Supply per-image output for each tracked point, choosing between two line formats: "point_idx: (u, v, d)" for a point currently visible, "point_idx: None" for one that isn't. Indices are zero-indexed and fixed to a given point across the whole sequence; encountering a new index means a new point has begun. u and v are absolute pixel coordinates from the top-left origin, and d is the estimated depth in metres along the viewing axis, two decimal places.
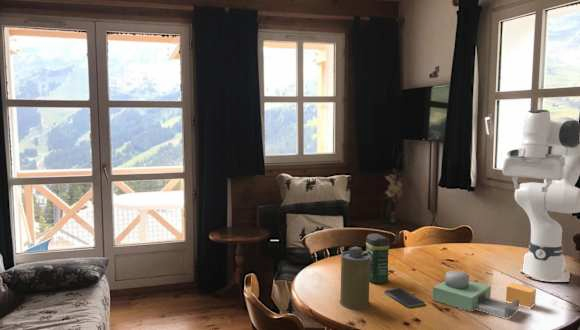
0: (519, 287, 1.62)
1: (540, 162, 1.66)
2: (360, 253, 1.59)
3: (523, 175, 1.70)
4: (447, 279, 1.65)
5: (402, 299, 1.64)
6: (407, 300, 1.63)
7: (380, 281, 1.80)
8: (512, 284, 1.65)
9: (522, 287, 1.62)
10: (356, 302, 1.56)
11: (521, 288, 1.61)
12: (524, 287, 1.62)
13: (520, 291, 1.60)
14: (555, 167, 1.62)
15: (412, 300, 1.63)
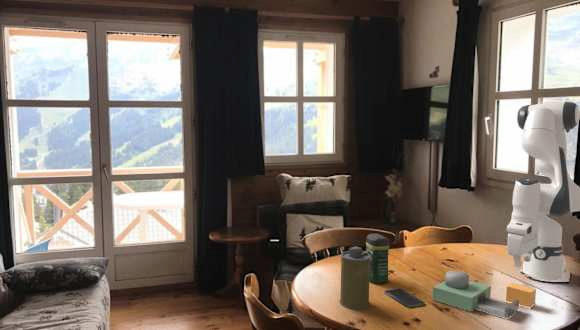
0: (519, 287, 1.62)
1: None
2: (360, 253, 1.59)
3: (526, 251, 1.57)
4: (447, 279, 1.65)
5: (402, 299, 1.64)
6: (407, 300, 1.63)
7: (380, 281, 1.80)
8: (512, 284, 1.65)
9: (522, 287, 1.62)
10: (356, 302, 1.56)
11: (521, 288, 1.61)
12: (524, 287, 1.62)
13: (520, 291, 1.60)
14: (537, 235, 1.64)
15: (412, 300, 1.63)
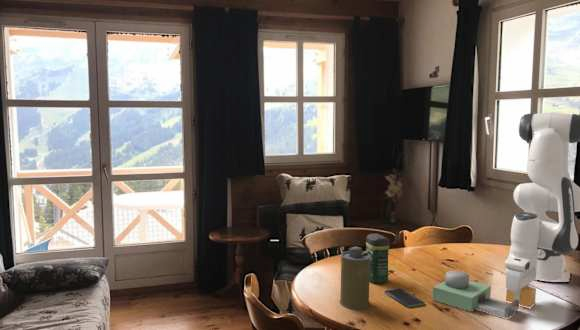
0: None
1: None
2: (360, 253, 1.59)
3: (524, 285, 1.59)
4: (447, 279, 1.65)
5: (402, 299, 1.64)
6: (407, 300, 1.63)
7: (380, 281, 1.80)
8: None
9: None
10: (356, 302, 1.56)
11: None
12: (524, 287, 1.62)
13: None
14: (535, 267, 1.66)
15: (412, 300, 1.63)
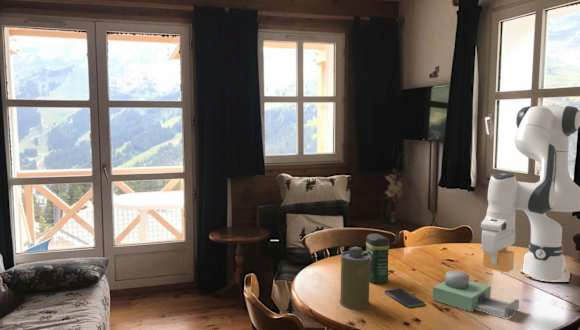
0: None
1: None
2: (360, 253, 1.59)
3: (501, 248, 1.52)
4: (447, 279, 1.65)
5: (402, 299, 1.64)
6: (407, 300, 1.63)
7: (380, 281, 1.80)
8: None
9: None
10: (356, 302, 1.56)
11: (498, 251, 1.54)
12: (502, 250, 1.55)
13: (497, 254, 1.52)
14: (514, 231, 1.59)
15: (412, 300, 1.63)
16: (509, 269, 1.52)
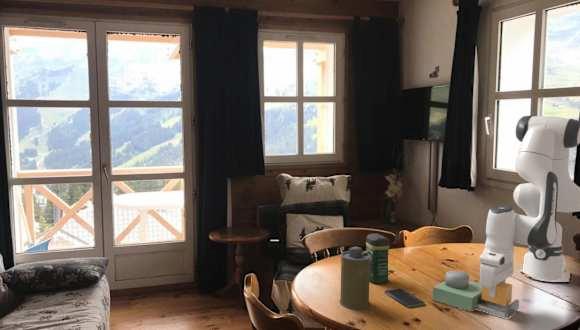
0: None
1: None
2: (360, 253, 1.59)
3: (500, 281, 1.53)
4: (447, 279, 1.65)
5: (402, 299, 1.64)
6: (407, 300, 1.63)
7: (380, 281, 1.80)
8: None
9: None
10: (356, 302, 1.56)
11: None
12: (500, 283, 1.56)
13: (496, 287, 1.54)
14: (512, 263, 1.60)
15: (412, 300, 1.63)
16: (507, 302, 1.53)
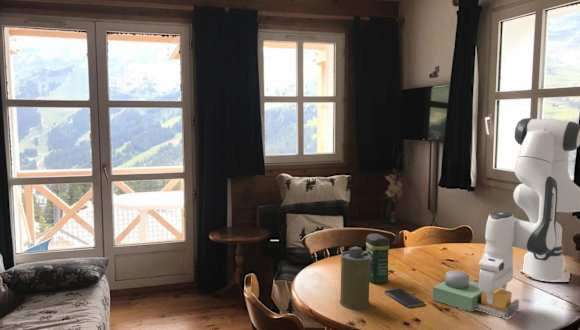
0: None
1: None
2: (360, 253, 1.59)
3: (499, 287, 1.53)
4: (447, 279, 1.65)
5: (402, 299, 1.64)
6: (407, 300, 1.63)
7: (380, 281, 1.80)
8: None
9: (497, 290, 1.56)
10: (356, 302, 1.56)
11: (496, 291, 1.55)
12: (499, 290, 1.56)
13: (495, 294, 1.54)
14: (511, 268, 1.60)
15: (412, 300, 1.63)
16: None
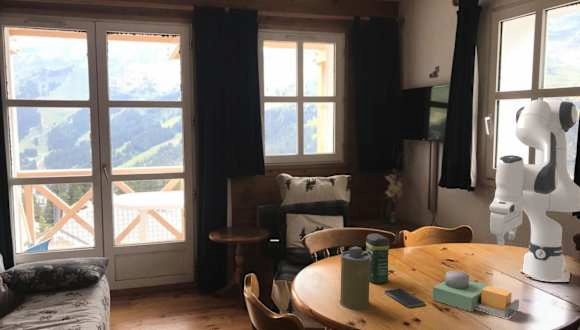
0: (494, 290, 1.56)
1: None
2: (360, 253, 1.59)
3: (509, 229, 1.56)
4: (447, 279, 1.65)
5: (402, 299, 1.64)
6: (407, 300, 1.63)
7: (380, 281, 1.80)
8: (487, 287, 1.59)
9: (497, 290, 1.56)
10: (356, 302, 1.56)
11: (496, 291, 1.55)
12: (499, 290, 1.56)
13: (495, 294, 1.54)
14: (521, 212, 1.63)
15: (412, 300, 1.63)
16: None
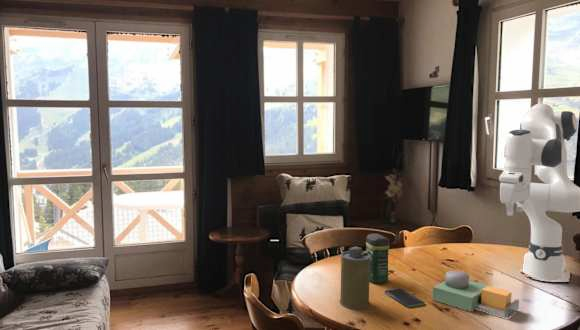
0: (494, 290, 1.56)
1: None
2: (360, 253, 1.59)
3: (518, 200, 1.62)
4: (447, 279, 1.65)
5: (402, 299, 1.64)
6: (407, 300, 1.63)
7: (380, 281, 1.80)
8: (487, 287, 1.59)
9: (497, 290, 1.56)
10: (356, 302, 1.56)
11: (496, 291, 1.55)
12: (499, 290, 1.56)
13: (495, 294, 1.54)
14: (529, 186, 1.69)
15: (412, 300, 1.63)
16: None
